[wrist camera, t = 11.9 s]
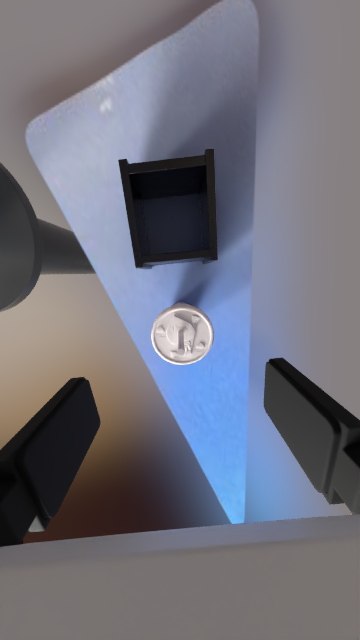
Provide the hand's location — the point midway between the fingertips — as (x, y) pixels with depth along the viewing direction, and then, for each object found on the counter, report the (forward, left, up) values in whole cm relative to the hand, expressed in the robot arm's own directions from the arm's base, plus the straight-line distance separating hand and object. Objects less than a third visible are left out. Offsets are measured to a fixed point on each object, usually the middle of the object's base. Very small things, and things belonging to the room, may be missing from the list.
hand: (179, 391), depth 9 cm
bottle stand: (0, +12, -18) cm, 21 cm away
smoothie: (0, 0, -18) cm, 18 cm away
